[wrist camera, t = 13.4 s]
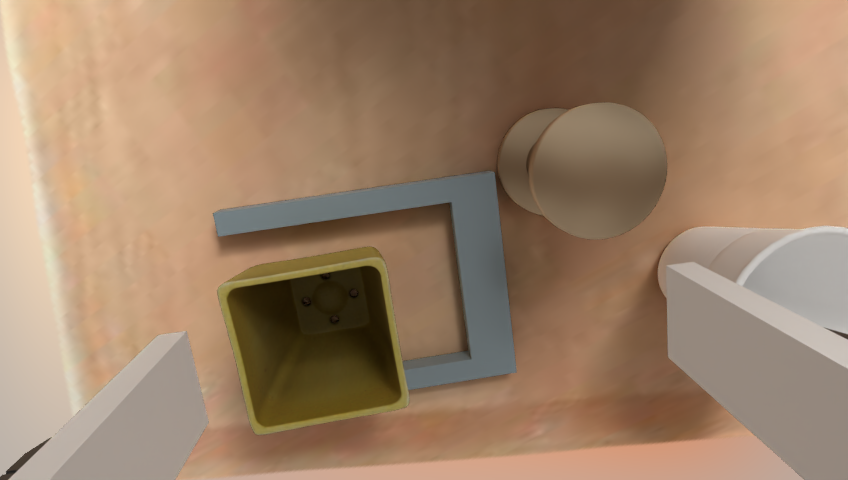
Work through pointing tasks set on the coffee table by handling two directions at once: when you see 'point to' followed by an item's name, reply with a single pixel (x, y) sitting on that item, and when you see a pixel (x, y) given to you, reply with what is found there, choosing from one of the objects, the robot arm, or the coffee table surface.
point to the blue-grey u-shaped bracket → (474, 256)
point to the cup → (774, 266)
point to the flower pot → (315, 340)
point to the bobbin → (585, 167)
